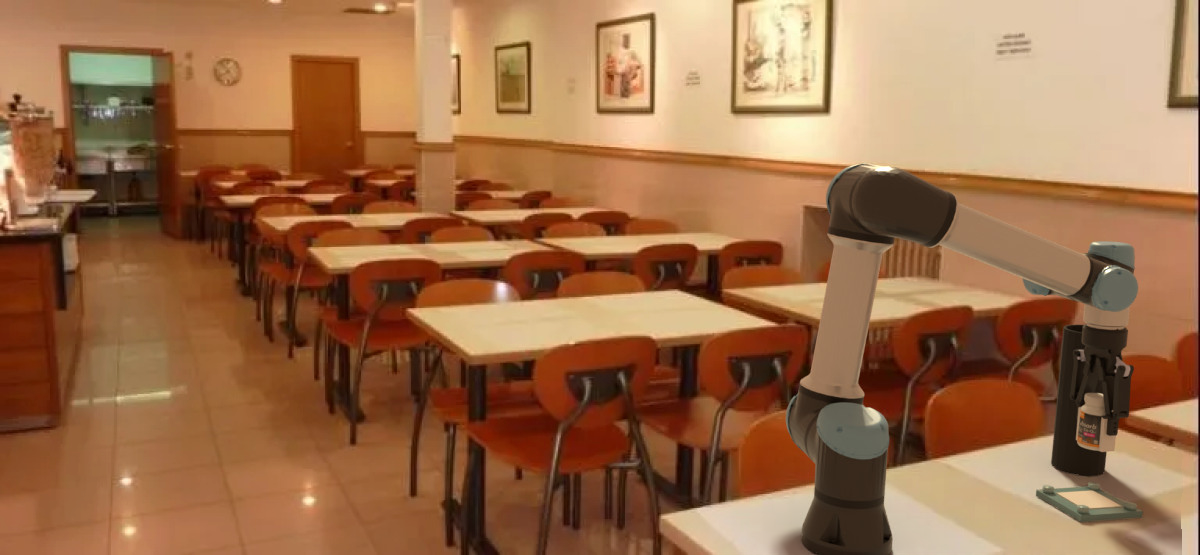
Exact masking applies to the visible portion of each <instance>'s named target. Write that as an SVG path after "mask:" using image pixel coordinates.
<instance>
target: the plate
mask: <svg viewBox="0 0 1200 555" xmlns="http://www.w3.org/2000/svg"><path fill="white" fill-rule="evenodd" d="M1035 496H1036V497H1038V498H1039V499H1041V500H1043V501H1045V502H1046V503H1047V504H1049V505H1051V506H1052V507H1055V508H1056V509H1058V510H1059V511H1061V512H1063V513H1064V514H1066V515H1068V516H1070V517H1071V518H1073V519H1074V520H1076V521H1078V522H1080V523H1084V522H1085V523H1086V522H1098V521H1099V522H1100V521H1111V520H1114V521H1115V520H1124V519H1125V520H1127V519H1139V518H1141V519H1142V518H1143V513H1144V511H1143V510H1141V509H1139V508H1138V507H1137V503H1136V502H1132V501H1125V500H1122V499H1120V498H1118V497H1117V496H1114V495H1113V494H1111V493H1109V492H1108V491H1106V490H1103V489H1102V488H1100V484H1099V483H1098V482H1097V483H1096V482H1088V484H1087V486H1076V487H1075V486H1074V487H1058V488H1055V487H1054V486H1052V485H1049V484H1048V485H1046V484H1045V485H1042V489H1036V491H1035Z"/></svg>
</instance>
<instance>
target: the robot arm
mask: <svg viewBox="0 0 1200 555" xmlns="http://www.w3.org/2000/svg"><path fill="white" fill-rule="evenodd" d="M825 203H826V209H827V212H828V214H829V215H830V216H829V217H830V219H829V224H828V230H827V237H828V238H829V240H830V241H831V243H832V245H833V249H832V250H833V251H832V254H831V261H830V266H829V271H828V277H827V282H826V288H825V292H824V293H825V294H824V297H823V303H822V309H821V314H820V320H819V324H818V330H817V334H816V335H817V336H816V341H815V346H814V352H813V357H812V363H811V369H810V373H809V374H808V375H806V376H804V377H803V378H801V379H800V381H799V386H798V390H797V391H798V392H797V394H796V395H794V396H793V397H792V398H791V399H790V401H789V403H788V405H787V408H786V412H785V424H786V429H787V432H788V434H789V435H790V438H791V439H792V442H793V443H794V444H795V445H796V446H797V448H798V449H800V450H801V451H802V452H803V453H804V454H805V455H806V456H807V457H808V458H809V459H810V461H811V462H813V463H814V464H815V469H814V472H815V473H814V489H813V490H814V491H813V499H812V500H811V501H812V502H811V503H810V507H809V509H808V511H807V514H806V516H805V518H804V521H803V523H802V526H801V536H800V537H801V542H802V544H803V545H804V547H805V548H807V549H808V550H809V551H810V552H813V553H814V554H815V555H891V553H892V551H893V534H892V529H891V526H890V522H889V518H888V515H887V511H886V508H885V493H886V492H885V491H886V481H887V480H886V479H887V467H888V466H887V465H888V455H889V454H888V450H889V446H890V435H889V423H888V421H887V419H886V417H885V416H884V415H883V414H882V413H881V412H880V411H878V410H876V409H874V408H872V407H870V406H869V407H866V406H865V405H864V397H865V392H864V391H863V389H862V388H861V386H860V384H859V378H860V373H861V367H862V363H863V357H864V353H865V348H866V347H865V346H866V342H867V337H868V332H869V327H870V322H871V316H872V312H873V305H874V301H875V296H876V292H877V286H878V280H879V275H880V270H881V266H882V260H883V259H882V258H883V255H884V254H885V253H886V252H887V251H889V249H891V248H893V247H894V244H895V240H896V239H901V240H904V241H909V242H913V243H916V244H918V245H921V246H923V247H926V248H929V249H932V248H935V247H937V246H940V247H943V248H945V249H947V250H950V251H953V252H955V253H958V254H961V255H962V256H966V257H968V258H971V259H973V260H976V261H978V262H981V263H983V264H985V265H989V266H991V267H994V268H996V269H998V270H1001V271H1004V272H1006V273H1009V274H1010V275H1013V276H1015V277H1019V278H1021V279H1022V283H1023V286H1024V288H1025V290H1026V291H1027V292H1028V293H1030V294H1031V295H1037V296H1044V297H1046V296H1057V297H1061V298H1065V299H1068V300H1070V301H1074V302H1077V303H1082V304H1084V305H1083V306H1084V308H1083V316H1082V321H1083V322H1084V324H1083V325H1084V326H1083V329H1082V343H1083V344H1084V345H1086V346H1085V348H1084V350H1074V351H1073V360H1074V364H1073V373H1072V381H1071V389H1070V399H1071V400H1074V401H1075V402H1076V405H1077V417H1076V419H1077V432H1076V440H1077V438H1078V428H1079V419H1080V410H1081V407H1082V406H1083V405H1085V400H1084V397H1085V394H1086V393H1094V392H1095V389H1096V386H1097V383H1098V380H1100V381H1101V382H1102V389H1103V398H1104V407H1105V416H1102V420H1101V431H1100V442H1099V451H1100V452H1107V453H1108V452H1115V449H1116V448H1115V447H1116V438H1117V436H1118V433H1119V432H1118V431H1119V422H1120V419H1123V418H1124V419H1125V418H1129V416H1130V406H1131V405H1130V401H1131V384H1132V383H1131V382H1132V376H1133V373H1134V370H1135V367H1134V365H1132V364H1127V363H1125V362H1124V361H1123V360H1124V359H1123V355H1122V351H1123V350H1124V349H1125V348H1127V346H1128V345H1127V344H1128V335H1129V334H1128V333H1129V330H1128V328H1127V326H1129V321H1130V310H1131V306H1132V305H1133V303H1134V301H1135V300H1136V298H1137V295H1138V293H1139V283H1138V280H1137V278H1136V276H1135V275H1134V273H1135V272H1134V271H1135V270H1136V267H1135V262H1136V260H1135V258H1136V257H1135V249H1134V246H1133V245H1131V244H1130V243H1126V242H1121V241H1109V240H1107V241H1106V240H1104V241H1103V240H1102V241H1101V240H1098V241H1093V242H1091V243H1090V245H1089V247H1088V250H1087V251H1088V252H1085V253H1081V252H1079V251H1076V250H1074V249H1072V248H1069V247H1067V246H1065V245H1061V244H1059V243H1057V242H1055V241H1054V240H1053V241H1052V240H1050V239H1048V238H1045V237H1044V236H1043V237H1042V236H1040V235H1038V234H1036V233H1033V232H1030V231H1028V230H1025V229H1023V228H1020V227H1019V226H1016V225H1013V224H1011V223H1008V222H1006V221H1003V220H1001V219H999V218H997V217H995V216H991V215H989V214H986V213H985V212H982V211H979V210H976V209H975V208H972V207H969V206H967V205H964V204H962V203H960V202H959V200H958V197H957V196H956V195H955V194H954V193H952V192H949V191H947V190H944V189H943V188H940V187H938V186H936V185H934V184H933V183H930V182H928V181H926V180H925V179H922V178H921V177H918V175H915V174H913V173H911V172H909V171H907V170H905V169H902V168H900V167H895V166H887V165H879V164H878V165H877V164H874V163H866V162H865V163H860V164H859V163H858V164H852V165H850V166H847V167H845V168H843V169H841V170H840V171H839V172H838V173H837V174H836V175H835V176H834V177H833V178H832V179H831V181H830V183H829V185H828V187H827V190H826V193H825ZM1106 376H1112V377H1106ZM1076 392H1079V393H1078V394H1076ZM1112 410H1113V412H1112Z"/></svg>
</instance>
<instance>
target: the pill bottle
mask: <svg viewBox="0 0 1200 555" xmlns="http://www.w3.org/2000/svg"><path fill="white" fill-rule="evenodd" d="M1084 400H1085V405H1083V406H1082V407H1081V410H1080V419H1079V428H1078V438H1077V443H1078V445H1079V446H1081V447H1083V448H1086V449H1090V450H1097V451H1099V442H1100V431H1101V420H1102V416H1105V407H1104V398H1103V394H1101V393H1086V394H1085V397H1084ZM1112 412H1113V410H1112Z"/></svg>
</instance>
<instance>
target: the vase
mask: <svg viewBox="0 0 1200 555" xmlns="http://www.w3.org/2000/svg"><path fill="white" fill-rule="evenodd" d="M1084 325H1085V324H1069V325H1068V324H1067V325H1064V326H1063V327H1062V328H1063V330H1062V331H1063V332H1062V340H1061V351H1060V361H1059V362H1060V363H1059V373H1058V384H1057V385H1058V386H1057V397H1056V405H1055V416H1054V428H1053V429H1054V430H1053V437H1052V438H1053V439H1052V449H1051V450H1052V451H1051V460H1050V464H1051V465H1052V467H1053V466H1054V467H1053V468H1055V469H1056V470H1059V471H1060V472H1064V473H1067V474H1071V475H1076V476H1083V477H1084V476H1085V477H1093V476H1094V477H1096V476H1099V475H1103V474H1104V473H1105V472H1106V471H1105V470H1106V461H1107V453H1108V452H1100V451H1097V450H1090V449H1086V448H1083V447H1081V446H1079V445H1078V443H1077V440H1076V432H1077V419H1076V417H1077V405H1076V402H1075V401H1074V400H1071V399H1070V389H1071V381H1072V373H1073V364H1074V360H1073V351H1074V350H1084V348H1085V346H1086V345H1084V344H1083V343H1082V329H1083V326H1084ZM1106 377H1112V376H1106ZM1078 393H1079V392H1076V394H1078ZM1094 393H1101V394H1103V389H1102V382H1101V381H1100V380H1098V383H1097V386H1096V389H1095V392H1094Z"/></svg>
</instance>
